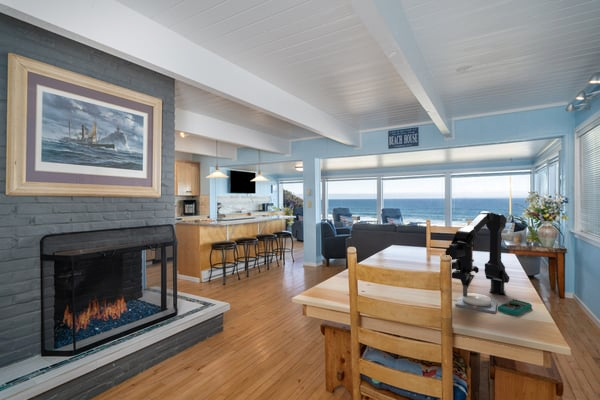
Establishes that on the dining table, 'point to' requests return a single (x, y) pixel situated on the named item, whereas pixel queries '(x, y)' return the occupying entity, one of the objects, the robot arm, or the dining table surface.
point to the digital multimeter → (514, 307)
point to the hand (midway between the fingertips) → (465, 290)
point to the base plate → (489, 308)
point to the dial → (475, 298)
